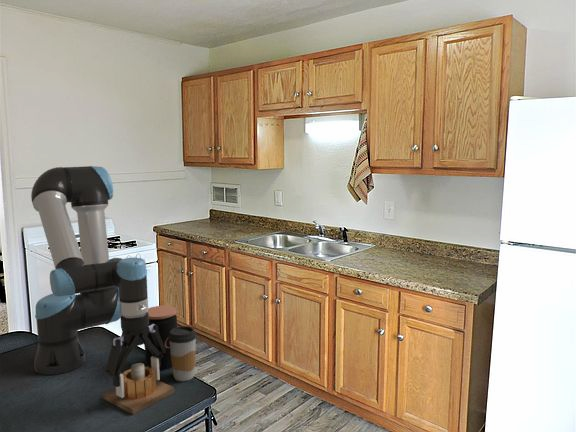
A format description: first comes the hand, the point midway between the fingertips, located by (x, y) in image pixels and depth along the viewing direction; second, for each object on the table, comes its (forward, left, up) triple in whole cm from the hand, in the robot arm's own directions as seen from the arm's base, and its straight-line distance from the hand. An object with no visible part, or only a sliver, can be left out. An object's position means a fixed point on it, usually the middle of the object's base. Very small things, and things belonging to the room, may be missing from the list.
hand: (138, 387), depth 132 cm
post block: (0, 0, -3) cm, 3 cm away
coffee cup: (+2, +15, -3) cm, 15 cm away
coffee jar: (-11, +17, -3) cm, 20 cm away
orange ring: (0, 0, -1) cm, 1 cm away
